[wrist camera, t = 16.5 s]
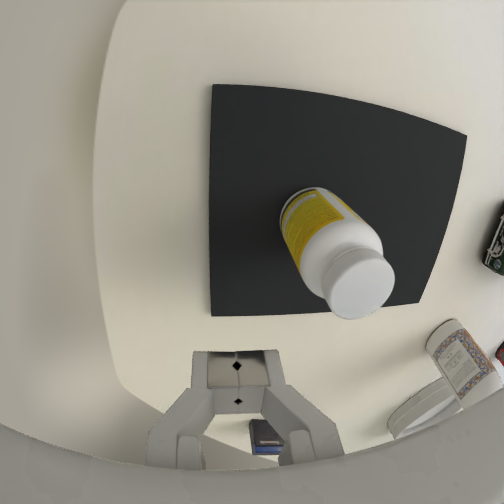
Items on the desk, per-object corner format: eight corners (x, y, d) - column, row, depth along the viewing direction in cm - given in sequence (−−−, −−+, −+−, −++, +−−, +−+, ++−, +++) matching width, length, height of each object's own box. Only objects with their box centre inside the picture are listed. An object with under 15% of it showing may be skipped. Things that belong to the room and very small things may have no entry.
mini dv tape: (298, 420, 40) (305, 450, 35) (294, 424, 41) (301, 453, 36) (251, 419, 38) (255, 452, 33) (248, 423, 39) (252, 455, 34)
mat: (211, 312, 27) (211, 316, 26) (212, 84, 17) (212, 84, 17) (416, 299, 30) (418, 302, 29) (463, 134, 20) (467, 135, 19)
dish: (373, 421, 47) (380, 439, 42) (460, 358, 41) (472, 376, 36) (402, 431, 56) (408, 445, 51) (468, 383, 50) (476, 396, 46)
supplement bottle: (272, 244, 23) (302, 329, 15) (286, 180, 21) (334, 239, 12) (331, 250, 24) (382, 327, 16) (349, 192, 22) (420, 250, 13)
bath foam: (458, 333, 36) (517, 421, 18) (426, 356, 37) (479, 451, 20) (458, 310, 32) (529, 407, 15) (423, 336, 34) (488, 444, 16)
